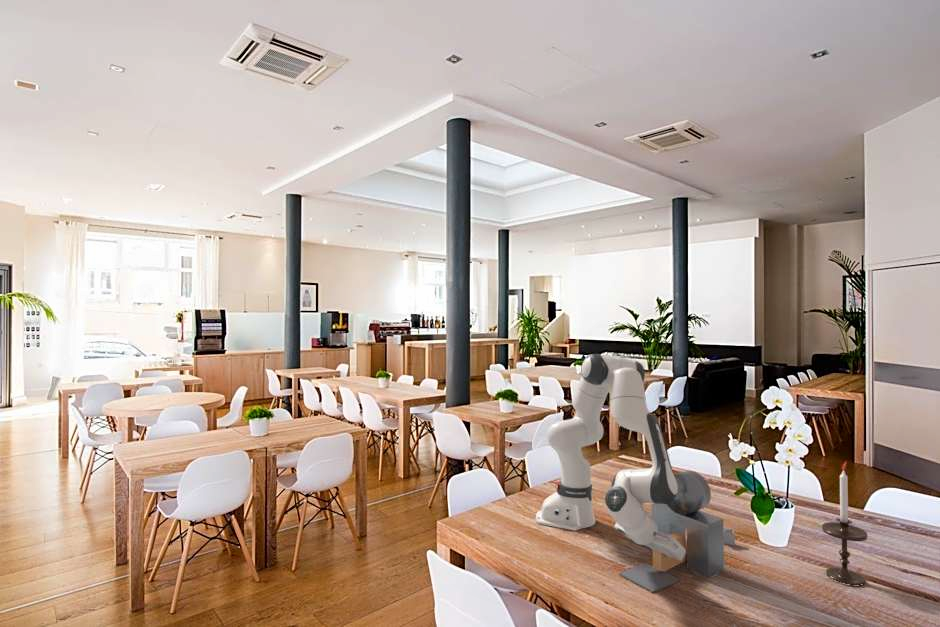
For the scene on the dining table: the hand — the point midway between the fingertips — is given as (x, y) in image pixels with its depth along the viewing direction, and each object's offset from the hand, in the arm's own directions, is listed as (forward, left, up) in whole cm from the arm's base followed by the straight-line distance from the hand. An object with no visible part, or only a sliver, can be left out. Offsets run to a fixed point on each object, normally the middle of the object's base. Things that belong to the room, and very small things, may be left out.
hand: (662, 552), depth 155 cm
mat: (-4, -5, -6) cm, 9 cm away
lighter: (+21, +26, -6) cm, 35 cm away
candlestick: (+51, +10, -6) cm, 53 cm away
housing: (+8, +9, -6) cm, 13 cm away
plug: (+2, +2, -4) cm, 5 cm away
